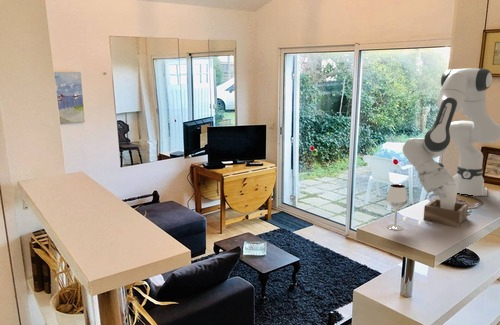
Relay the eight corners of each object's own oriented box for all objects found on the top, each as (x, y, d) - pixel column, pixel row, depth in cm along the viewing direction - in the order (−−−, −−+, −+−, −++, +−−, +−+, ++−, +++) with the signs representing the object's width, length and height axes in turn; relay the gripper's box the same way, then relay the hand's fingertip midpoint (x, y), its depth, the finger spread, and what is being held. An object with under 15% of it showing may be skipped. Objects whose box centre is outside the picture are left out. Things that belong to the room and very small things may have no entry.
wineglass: (380, 227, 165) (383, 185, 161) (391, 222, 170) (393, 182, 166) (398, 232, 159) (401, 189, 155) (409, 227, 164) (412, 186, 160)
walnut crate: (433, 211, 183) (434, 198, 182) (466, 218, 174) (468, 204, 173) (423, 219, 173) (424, 205, 171) (458, 227, 164) (459, 212, 162)
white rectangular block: (451, 213, 177) (454, 181, 174) (457, 218, 170) (460, 185, 167) (435, 213, 178) (438, 181, 174) (441, 218, 171) (444, 185, 168)
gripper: (422, 169, 168) (442, 196, 162) (444, 163, 180) (464, 188, 175) (411, 177, 172) (431, 204, 167) (434, 171, 185) (453, 195, 179)
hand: (448, 195), depth 171 cm, fingers open, 8 cm apart
